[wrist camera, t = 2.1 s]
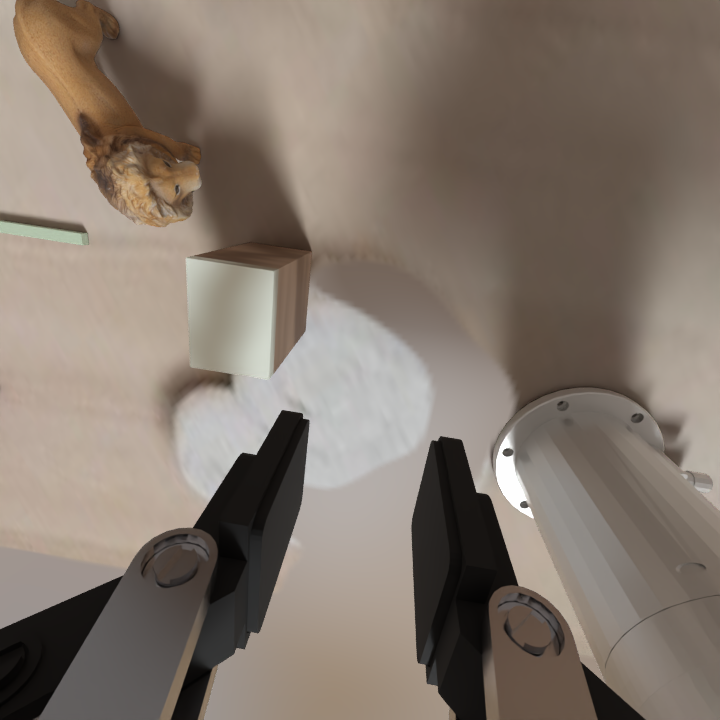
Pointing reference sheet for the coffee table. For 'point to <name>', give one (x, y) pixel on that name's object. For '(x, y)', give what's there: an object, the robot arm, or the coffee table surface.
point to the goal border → (44, 232)
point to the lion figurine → (106, 114)
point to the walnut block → (246, 307)
